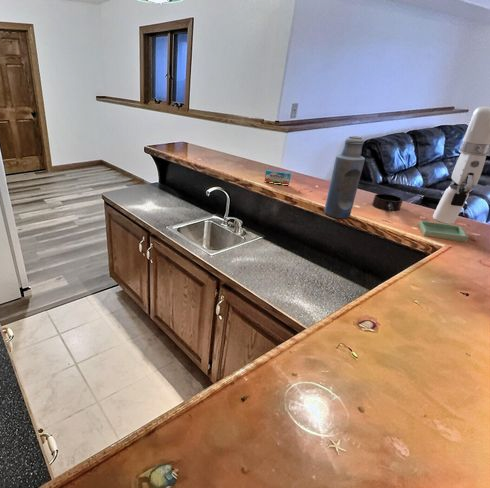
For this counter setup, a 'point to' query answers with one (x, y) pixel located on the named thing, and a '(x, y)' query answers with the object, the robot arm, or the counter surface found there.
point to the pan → (387, 202)
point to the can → (448, 207)
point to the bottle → (345, 179)
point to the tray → (443, 231)
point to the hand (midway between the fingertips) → (453, 201)
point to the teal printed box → (277, 177)
